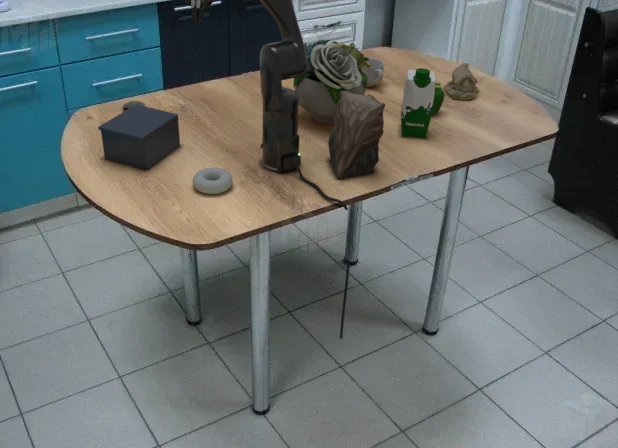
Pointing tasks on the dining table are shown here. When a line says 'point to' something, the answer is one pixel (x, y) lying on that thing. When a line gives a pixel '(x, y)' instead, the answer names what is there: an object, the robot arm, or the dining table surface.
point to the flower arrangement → (330, 77)
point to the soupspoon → (132, 103)
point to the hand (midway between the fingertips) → (196, 22)
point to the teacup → (373, 72)
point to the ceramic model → (462, 83)
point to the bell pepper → (437, 99)
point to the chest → (142, 146)
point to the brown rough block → (355, 135)
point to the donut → (206, 177)
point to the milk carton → (417, 102)
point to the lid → (138, 122)
